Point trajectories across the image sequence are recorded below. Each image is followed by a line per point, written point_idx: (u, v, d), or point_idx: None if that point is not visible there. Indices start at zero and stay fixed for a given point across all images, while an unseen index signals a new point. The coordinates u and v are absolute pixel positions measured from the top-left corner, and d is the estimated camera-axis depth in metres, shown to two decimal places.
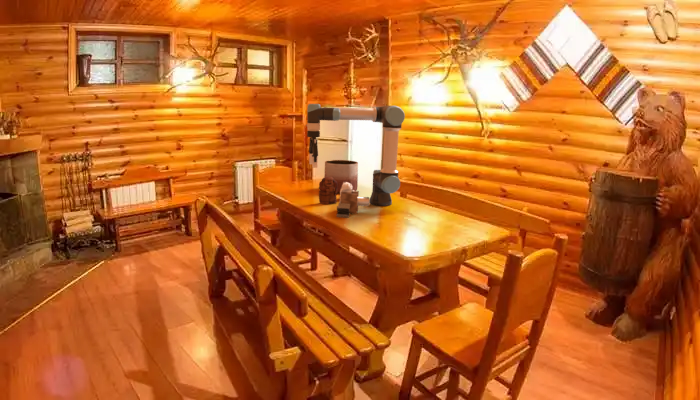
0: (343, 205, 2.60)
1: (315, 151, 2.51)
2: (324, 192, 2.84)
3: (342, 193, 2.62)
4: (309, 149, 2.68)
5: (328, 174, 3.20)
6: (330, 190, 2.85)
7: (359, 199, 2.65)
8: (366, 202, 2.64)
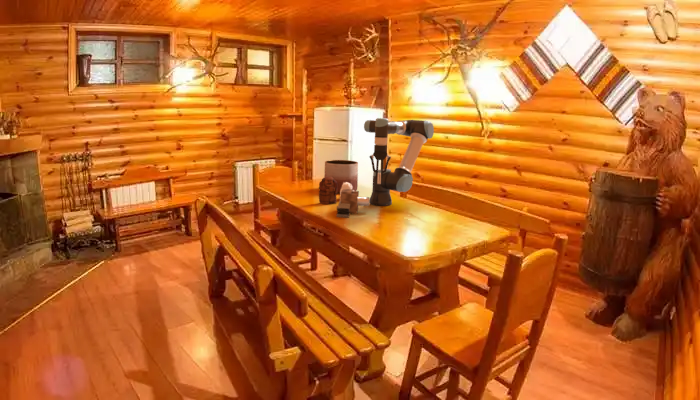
0: (343, 205, 2.60)
1: (372, 167, 2.62)
2: (324, 192, 2.84)
3: (342, 193, 2.62)
4: None
5: (328, 174, 3.20)
6: (330, 190, 2.85)
7: (359, 199, 2.65)
8: (366, 202, 2.64)
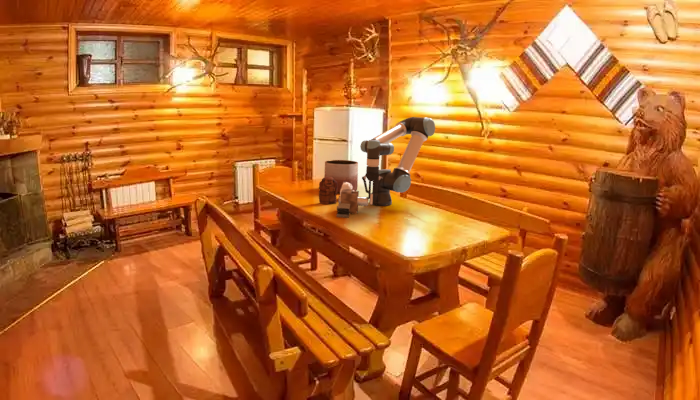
0: (343, 205, 2.60)
1: (365, 188, 2.65)
2: (324, 192, 2.84)
3: (342, 193, 2.62)
4: None
5: (328, 174, 3.20)
6: (330, 190, 2.85)
7: (358, 199, 2.65)
8: (365, 202, 2.64)
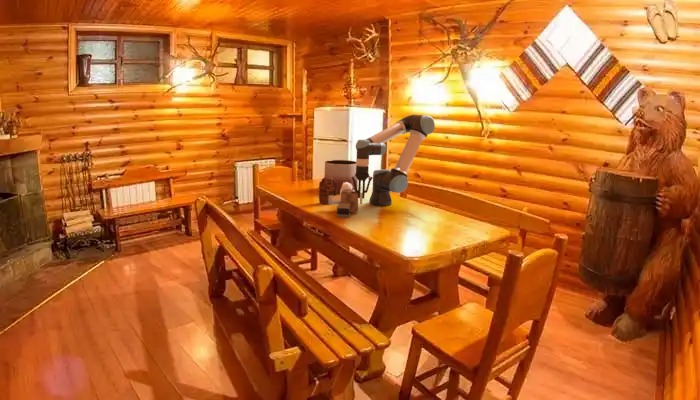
0: (343, 205, 2.60)
1: None
2: (324, 192, 2.84)
3: (342, 193, 2.62)
4: None
5: (328, 174, 3.20)
6: (330, 190, 2.85)
7: None
8: None
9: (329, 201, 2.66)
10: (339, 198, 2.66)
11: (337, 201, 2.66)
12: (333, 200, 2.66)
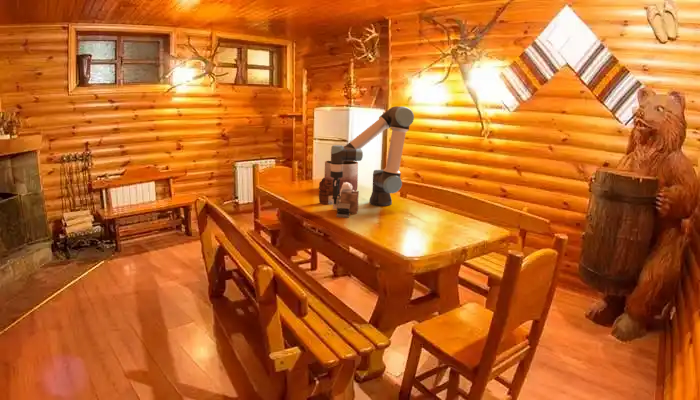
0: (343, 205, 2.60)
1: (334, 194, 2.61)
2: (324, 192, 2.84)
3: (342, 193, 2.62)
4: None
5: (328, 174, 3.20)
6: (330, 190, 2.85)
7: None
8: None
9: (329, 201, 2.66)
10: (339, 198, 2.66)
11: None
12: None
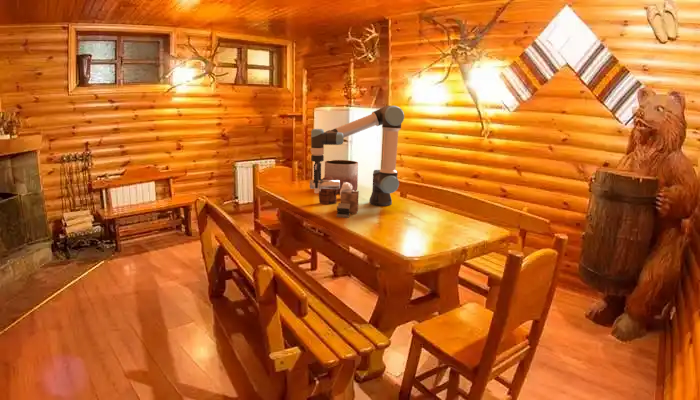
0: (343, 205, 2.60)
1: (315, 178, 2.60)
2: (324, 192, 2.84)
3: (342, 193, 2.62)
4: None
5: (328, 174, 3.20)
6: (330, 190, 2.85)
7: (329, 182, 2.64)
8: (336, 185, 2.64)
9: (310, 186, 2.65)
10: (320, 182, 2.65)
11: None
12: None
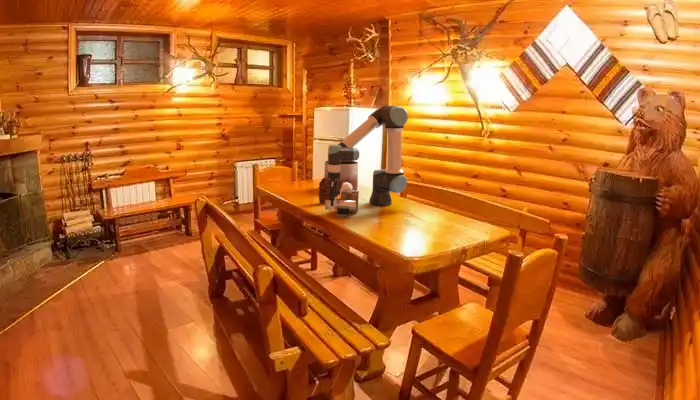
0: None
1: (331, 195, 2.49)
2: (324, 192, 2.84)
3: (342, 193, 2.62)
4: None
5: None
6: None
7: (345, 203, 2.55)
8: (352, 206, 2.54)
9: (326, 206, 2.56)
10: (336, 203, 2.55)
11: None
12: None
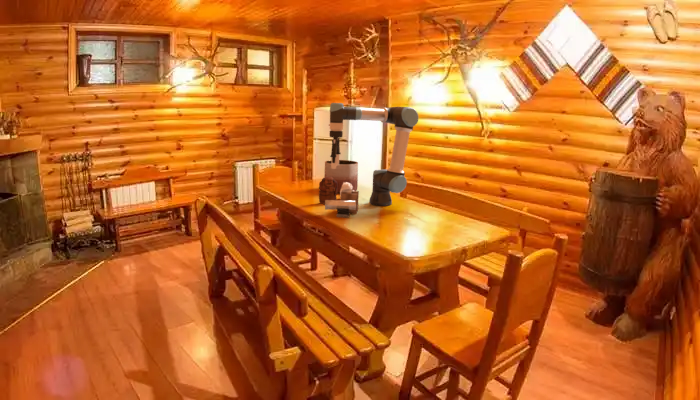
0: None
1: (333, 151, 2.43)
2: (324, 192, 2.84)
3: (342, 193, 2.62)
4: None
5: (328, 174, 3.20)
6: (330, 190, 2.85)
7: (345, 203, 2.55)
8: (352, 206, 2.54)
9: (326, 206, 2.56)
10: (336, 203, 2.55)
11: (334, 206, 2.55)
12: (330, 205, 2.55)
